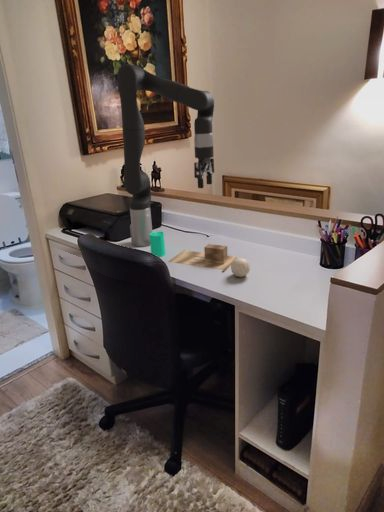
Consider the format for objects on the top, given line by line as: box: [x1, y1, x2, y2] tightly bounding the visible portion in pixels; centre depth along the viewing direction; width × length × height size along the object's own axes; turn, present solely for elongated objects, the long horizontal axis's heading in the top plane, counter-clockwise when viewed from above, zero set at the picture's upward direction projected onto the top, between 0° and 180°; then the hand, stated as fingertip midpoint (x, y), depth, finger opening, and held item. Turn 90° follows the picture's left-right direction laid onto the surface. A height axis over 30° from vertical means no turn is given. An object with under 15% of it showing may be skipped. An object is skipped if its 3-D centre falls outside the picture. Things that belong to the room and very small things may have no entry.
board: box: [168, 249, 237, 273], centre depth 154 cm, size 24×14×1 cm, turn 64°
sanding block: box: [203, 243, 228, 264], centre depth 150 cm, size 8×4×6 cm, turn 64°
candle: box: [149, 229, 166, 258], centre depth 160 cm, size 6×6×12 cm
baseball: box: [230, 257, 251, 278], centre depth 138 cm, size 7×7×7 cm
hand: (205, 186), depth 157 cm, fingers open, 8 cm apart
